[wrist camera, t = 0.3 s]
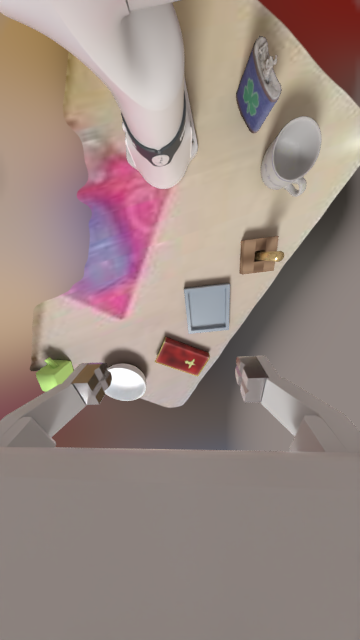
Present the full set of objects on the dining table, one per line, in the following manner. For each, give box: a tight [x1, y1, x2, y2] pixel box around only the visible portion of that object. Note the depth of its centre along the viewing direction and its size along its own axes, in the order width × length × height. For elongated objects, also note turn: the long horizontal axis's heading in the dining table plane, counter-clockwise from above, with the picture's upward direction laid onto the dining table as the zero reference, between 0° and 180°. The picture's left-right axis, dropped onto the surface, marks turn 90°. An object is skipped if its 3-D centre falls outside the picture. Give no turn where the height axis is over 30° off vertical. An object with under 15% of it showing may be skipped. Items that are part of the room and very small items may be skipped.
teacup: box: [261, 116, 321, 196], centre depth 37 cm, size 14×11×8 cm
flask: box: [236, 36, 282, 133], centre depth 31 cm, size 9×3×11 cm, turn 39°
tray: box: [184, 283, 230, 334], centre depth 56 cm, size 18×16×2 cm
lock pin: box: [254, 251, 284, 262], centre depth 43 cm, size 2×2×13 cm
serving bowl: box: [105, 363, 146, 401], centre depth 68 cm, size 21×21×7 cm
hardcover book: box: [155, 337, 210, 376], centre depth 65 cm, size 12×21×4 cm, turn 67°
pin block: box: [240, 236, 279, 274], centre depth 47 cm, size 10×10×3 cm
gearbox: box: [36, 357, 74, 392], centre depth 66 cm, size 18×10×10 cm, turn 175°
